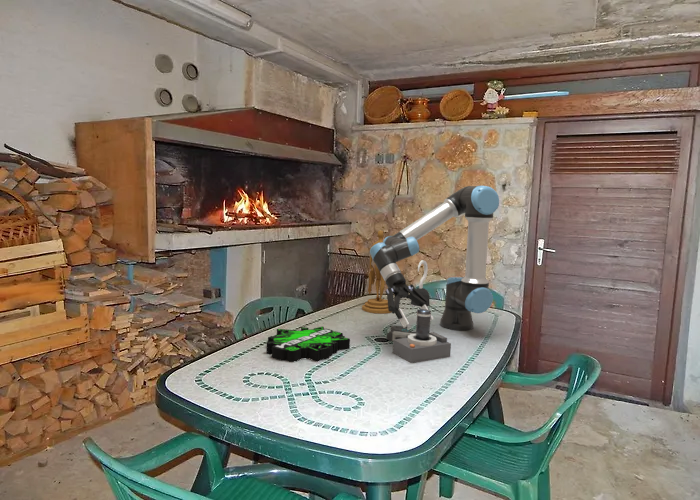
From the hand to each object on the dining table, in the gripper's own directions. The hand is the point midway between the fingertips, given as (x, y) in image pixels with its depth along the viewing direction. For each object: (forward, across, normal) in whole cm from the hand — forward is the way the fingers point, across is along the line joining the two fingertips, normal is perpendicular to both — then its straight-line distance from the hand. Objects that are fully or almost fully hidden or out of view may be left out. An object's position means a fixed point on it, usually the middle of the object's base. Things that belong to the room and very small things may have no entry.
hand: (419, 323), depth 177 cm
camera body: (+10, 0, -7) cm, 12 cm away
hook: (-29, -61, -47) cm, 82 cm away
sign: (-12, +33, -29) cm, 45 cm away
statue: (-32, -33, -50) cm, 68 cm away
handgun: (0, -12, -18) cm, 21 cm away
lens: (+6, 0, -3) cm, 7 cm away
